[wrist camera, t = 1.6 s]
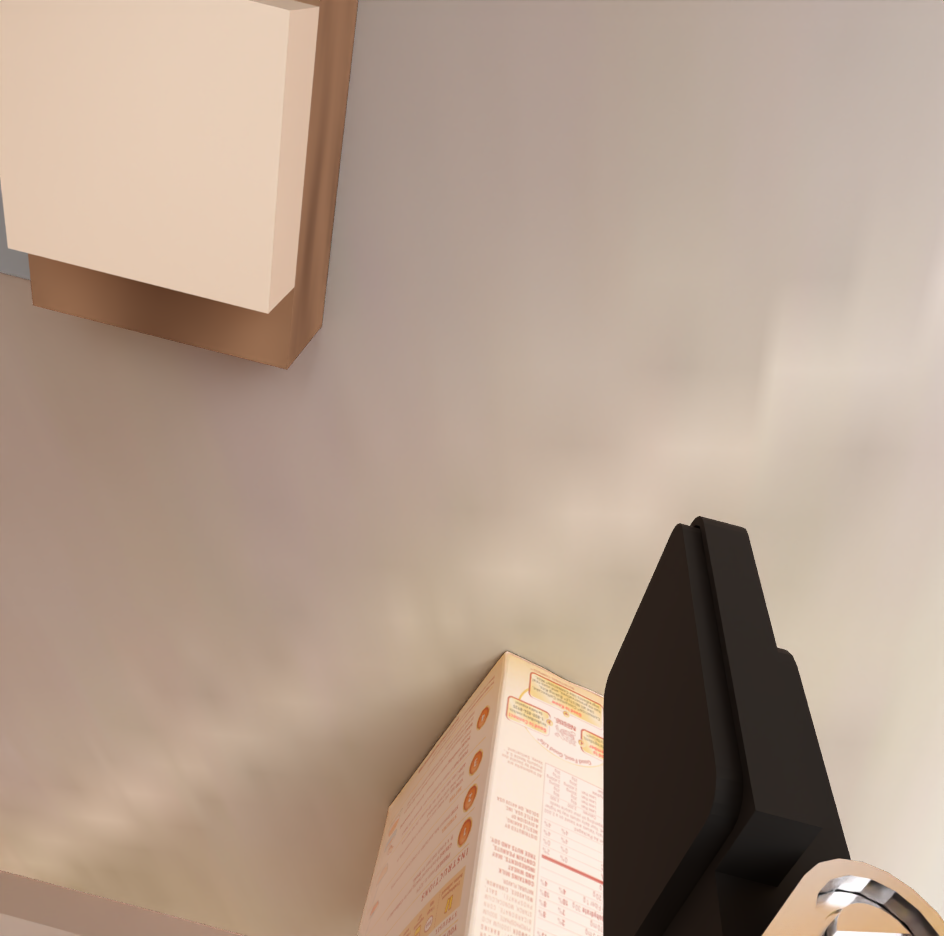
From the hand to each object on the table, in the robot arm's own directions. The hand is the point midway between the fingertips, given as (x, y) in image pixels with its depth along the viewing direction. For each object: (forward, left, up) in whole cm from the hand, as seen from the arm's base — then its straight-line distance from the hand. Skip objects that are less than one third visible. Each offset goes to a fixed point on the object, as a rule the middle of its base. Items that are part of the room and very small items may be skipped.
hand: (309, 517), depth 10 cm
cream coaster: (+9, 0, -15) cm, 18 cm away
